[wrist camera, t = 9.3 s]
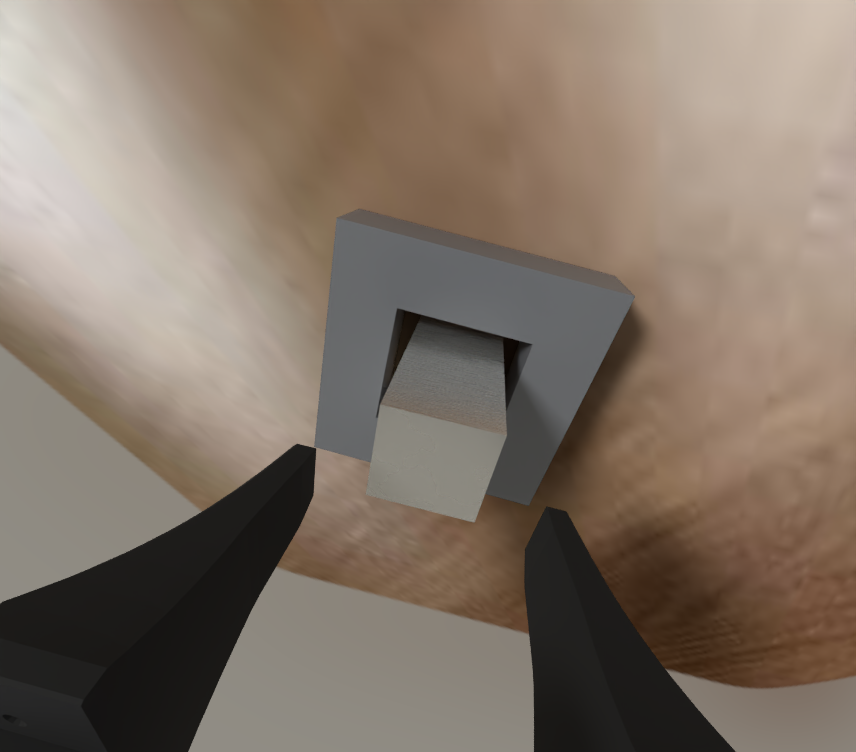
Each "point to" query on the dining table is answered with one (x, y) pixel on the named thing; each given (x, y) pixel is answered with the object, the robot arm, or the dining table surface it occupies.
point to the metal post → (441, 421)
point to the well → (472, 307)
